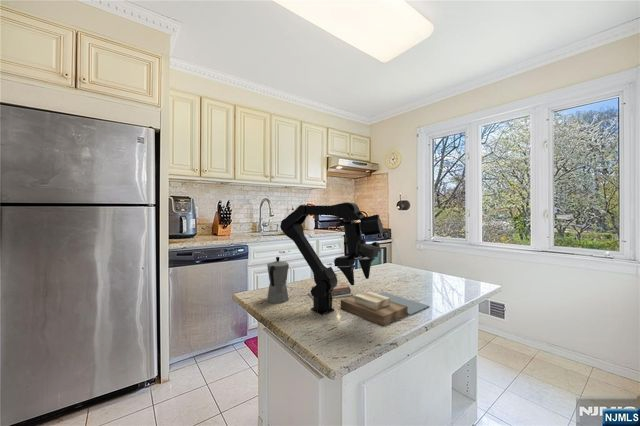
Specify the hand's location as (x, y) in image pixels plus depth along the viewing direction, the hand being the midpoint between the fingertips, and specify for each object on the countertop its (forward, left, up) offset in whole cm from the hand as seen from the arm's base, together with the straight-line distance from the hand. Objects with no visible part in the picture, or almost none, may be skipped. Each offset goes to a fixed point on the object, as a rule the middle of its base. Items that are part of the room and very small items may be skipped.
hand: (360, 281), depth 92 cm
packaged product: (+8, +25, -13) cm, 29 cm away
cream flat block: (+7, +1, -9) cm, 12 cm away
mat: (+22, +1, -12) cm, 25 cm away
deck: (+8, +1, -12) cm, 15 cm away
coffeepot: (-14, +33, -13) cm, 38 cm away
